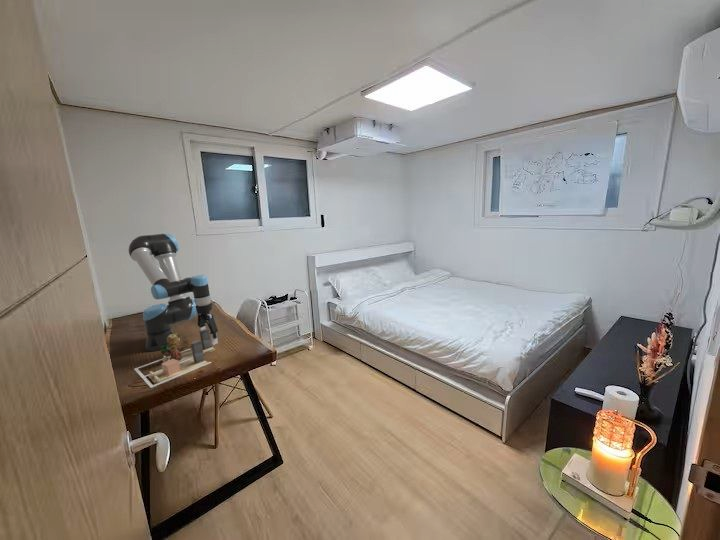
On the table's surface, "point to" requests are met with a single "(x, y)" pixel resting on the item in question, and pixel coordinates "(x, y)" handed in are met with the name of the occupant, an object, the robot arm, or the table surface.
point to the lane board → (162, 370)
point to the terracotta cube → (171, 367)
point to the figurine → (172, 347)
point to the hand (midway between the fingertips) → (209, 340)
